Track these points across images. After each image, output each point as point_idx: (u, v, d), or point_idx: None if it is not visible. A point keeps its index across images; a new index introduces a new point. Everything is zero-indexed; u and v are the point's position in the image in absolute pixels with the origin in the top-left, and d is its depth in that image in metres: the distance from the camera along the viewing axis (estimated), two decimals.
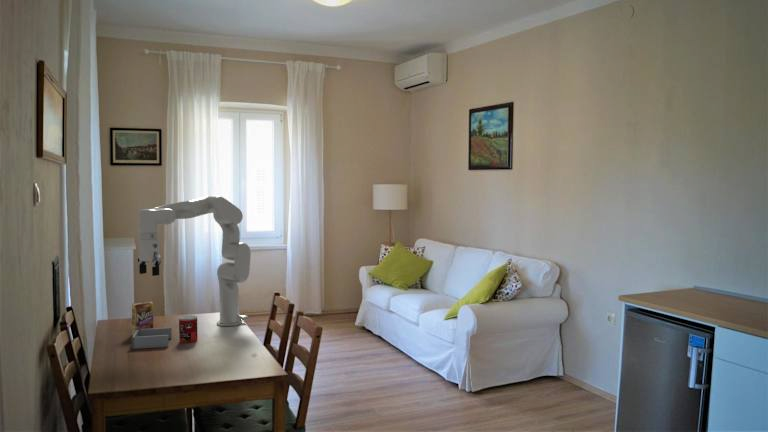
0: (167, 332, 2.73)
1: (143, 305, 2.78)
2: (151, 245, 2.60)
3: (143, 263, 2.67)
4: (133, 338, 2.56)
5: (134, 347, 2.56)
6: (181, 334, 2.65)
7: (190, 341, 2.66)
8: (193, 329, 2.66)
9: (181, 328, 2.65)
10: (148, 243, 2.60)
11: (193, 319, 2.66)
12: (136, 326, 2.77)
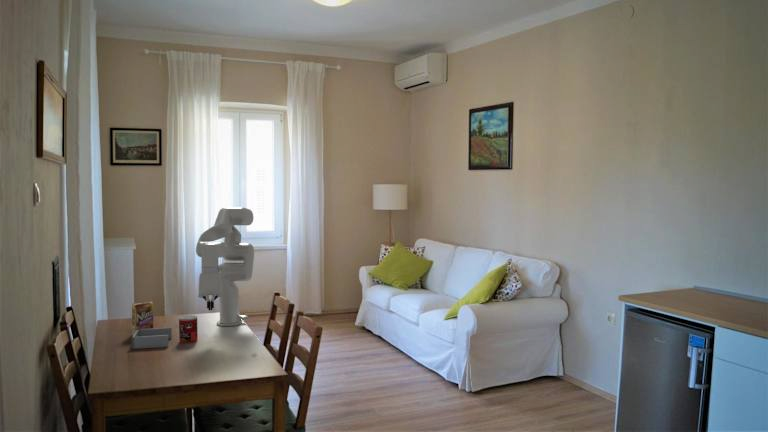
0: (167, 332, 2.73)
1: (143, 305, 2.78)
2: (220, 278, 2.69)
3: None
4: (133, 338, 2.56)
5: (134, 347, 2.56)
6: (181, 334, 2.65)
7: (190, 341, 2.66)
8: (193, 329, 2.66)
9: (181, 328, 2.65)
10: (217, 276, 2.68)
11: (193, 319, 2.66)
12: (136, 326, 2.77)
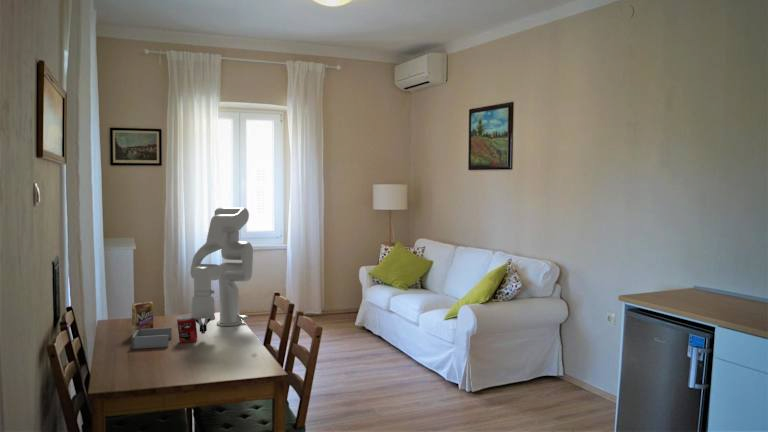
0: (167, 332, 2.73)
1: (143, 305, 2.78)
2: (212, 301, 2.69)
3: (202, 323, 2.70)
4: (133, 338, 2.56)
5: (134, 347, 2.56)
6: (180, 334, 2.65)
7: (190, 340, 2.66)
8: (192, 328, 2.66)
9: (180, 329, 2.65)
10: (209, 299, 2.68)
11: (191, 318, 2.66)
12: (136, 326, 2.77)
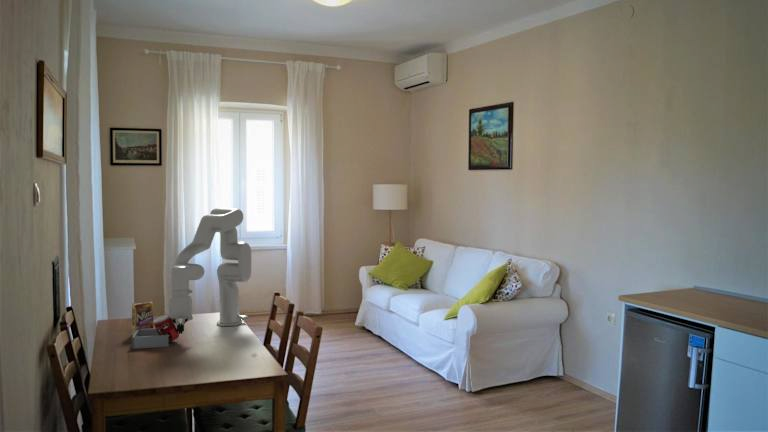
0: None
1: (143, 305, 2.78)
2: (190, 301, 2.66)
3: (179, 323, 2.67)
4: (133, 338, 2.56)
5: (134, 347, 2.56)
6: None
7: (172, 339, 2.64)
8: (171, 327, 2.63)
9: (159, 331, 2.62)
10: (187, 299, 2.65)
11: (167, 318, 2.63)
12: (136, 326, 2.77)
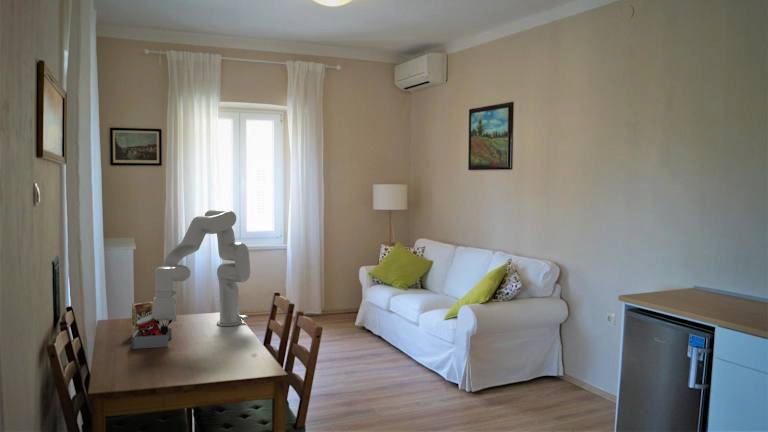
0: None
1: (143, 305, 2.78)
2: (174, 302, 2.65)
3: (163, 324, 2.66)
4: (133, 338, 2.56)
5: (134, 347, 2.56)
6: None
7: None
8: (155, 327, 2.62)
9: (143, 332, 2.60)
10: (171, 300, 2.64)
11: (152, 318, 2.61)
12: (136, 326, 2.77)
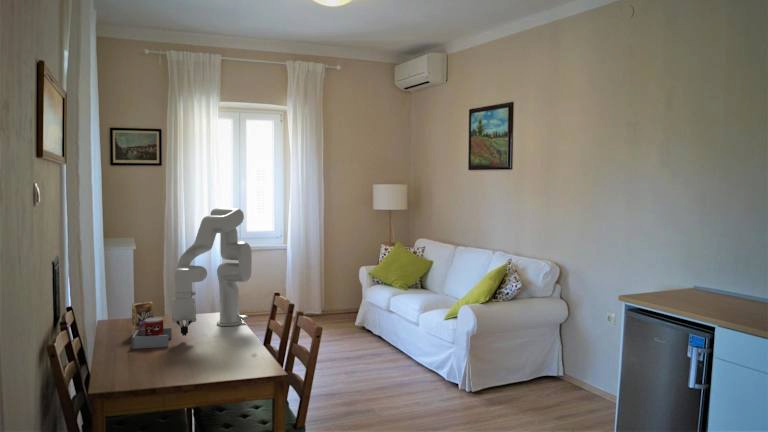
0: (167, 332, 2.73)
1: (143, 305, 2.78)
2: (193, 303, 2.67)
3: (183, 325, 2.69)
4: (133, 338, 2.56)
5: (134, 347, 2.56)
6: None
7: None
8: (160, 330, 2.63)
9: (148, 331, 2.61)
10: (190, 301, 2.66)
11: (160, 320, 2.63)
12: (136, 326, 2.77)
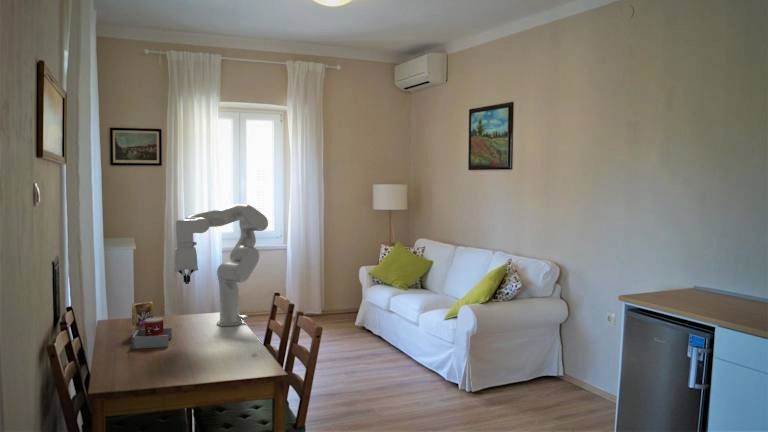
0: (167, 332, 2.73)
1: (143, 305, 2.78)
2: (195, 252, 2.78)
3: (185, 274, 2.79)
4: (133, 338, 2.56)
5: (134, 347, 2.56)
6: None
7: None
8: (160, 330, 2.63)
9: (148, 331, 2.61)
10: (192, 251, 2.77)
11: (160, 320, 2.63)
12: (136, 326, 2.77)
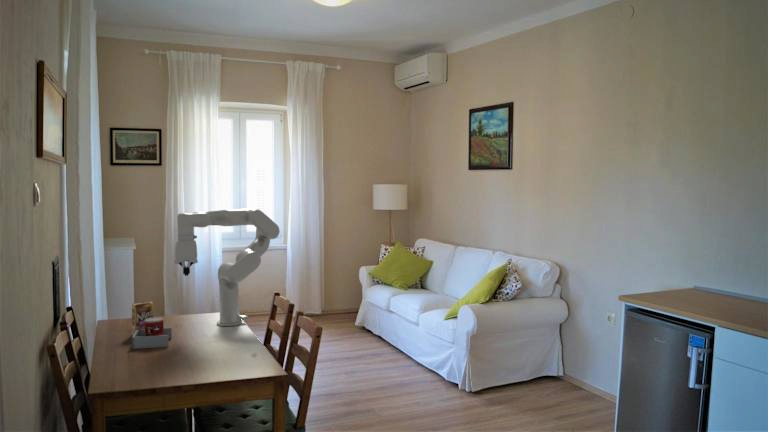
0: (167, 332, 2.73)
1: (143, 305, 2.78)
2: (195, 245, 2.87)
3: (185, 266, 2.88)
4: (133, 338, 2.56)
5: (134, 347, 2.56)
6: None
7: None
8: (161, 330, 2.63)
9: (148, 331, 2.61)
10: (192, 244, 2.86)
11: (161, 320, 2.63)
12: (136, 326, 2.77)
